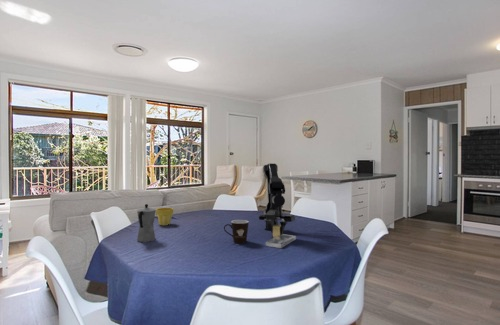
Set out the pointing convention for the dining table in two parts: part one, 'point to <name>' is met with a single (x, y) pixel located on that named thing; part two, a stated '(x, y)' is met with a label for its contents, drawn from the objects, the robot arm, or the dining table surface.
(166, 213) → the plant pot
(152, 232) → the coffeepot
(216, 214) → the dining table surface
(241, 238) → the coffee mug
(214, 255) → the dining table surface
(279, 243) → the rail
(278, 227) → the golden block
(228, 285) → the dining table surface
